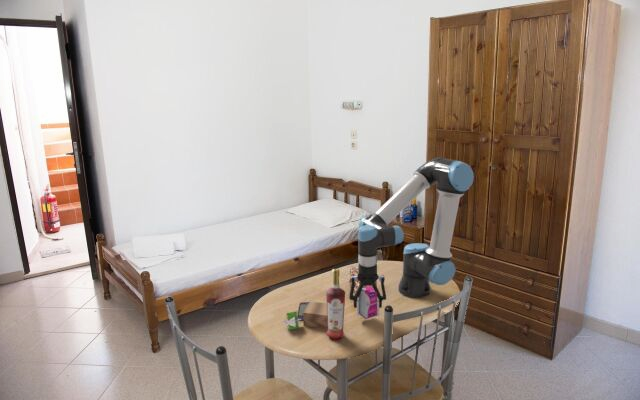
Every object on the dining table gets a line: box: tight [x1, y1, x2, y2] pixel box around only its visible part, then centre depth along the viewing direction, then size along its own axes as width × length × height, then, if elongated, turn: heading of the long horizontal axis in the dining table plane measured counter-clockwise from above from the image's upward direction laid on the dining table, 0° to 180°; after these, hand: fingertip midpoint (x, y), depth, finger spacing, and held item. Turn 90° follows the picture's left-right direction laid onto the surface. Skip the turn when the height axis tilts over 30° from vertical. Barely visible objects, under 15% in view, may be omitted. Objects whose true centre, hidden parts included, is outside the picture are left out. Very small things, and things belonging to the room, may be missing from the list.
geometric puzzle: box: [283, 311, 303, 331], centre depth 187 cm, size 7×7×8 cm
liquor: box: [325, 268, 346, 340], centre depth 178 cm, size 7×7×28 cm
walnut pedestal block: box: [302, 301, 328, 329], centre depth 192 cm, size 10×10×6 cm
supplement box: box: [358, 285, 378, 320], centre depth 191 cm, size 6×6×12 cm
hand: (367, 314), depth 193 cm, fingers closed on supplement box, 8 cm apart
